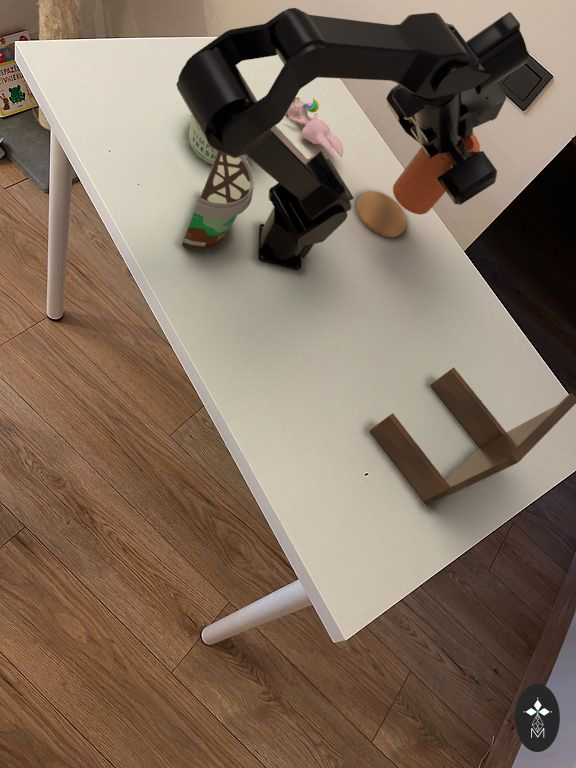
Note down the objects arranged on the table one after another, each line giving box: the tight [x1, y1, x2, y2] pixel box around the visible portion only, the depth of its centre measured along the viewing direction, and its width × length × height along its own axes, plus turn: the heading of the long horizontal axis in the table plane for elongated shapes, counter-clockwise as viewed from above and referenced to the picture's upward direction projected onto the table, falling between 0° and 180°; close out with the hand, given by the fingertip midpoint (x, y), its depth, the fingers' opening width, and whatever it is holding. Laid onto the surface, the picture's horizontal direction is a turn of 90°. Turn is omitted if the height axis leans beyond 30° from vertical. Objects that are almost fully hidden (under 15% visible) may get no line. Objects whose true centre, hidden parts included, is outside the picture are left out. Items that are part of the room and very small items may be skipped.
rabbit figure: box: [286, 96, 344, 159], centre depth 98 cm, size 6×6×15 cm
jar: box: [392, 133, 481, 215], centre depth 87 cm, size 7×7×12 cm
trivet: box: [356, 191, 407, 238], centre depth 98 cm, size 9×9×1 cm
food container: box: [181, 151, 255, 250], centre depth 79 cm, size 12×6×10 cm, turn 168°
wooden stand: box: [369, 367, 576, 506], centre depth 74 cm, size 12×15×17 cm
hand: (442, 165), depth 88 cm, fingers closed on jar, 7 cm apart
